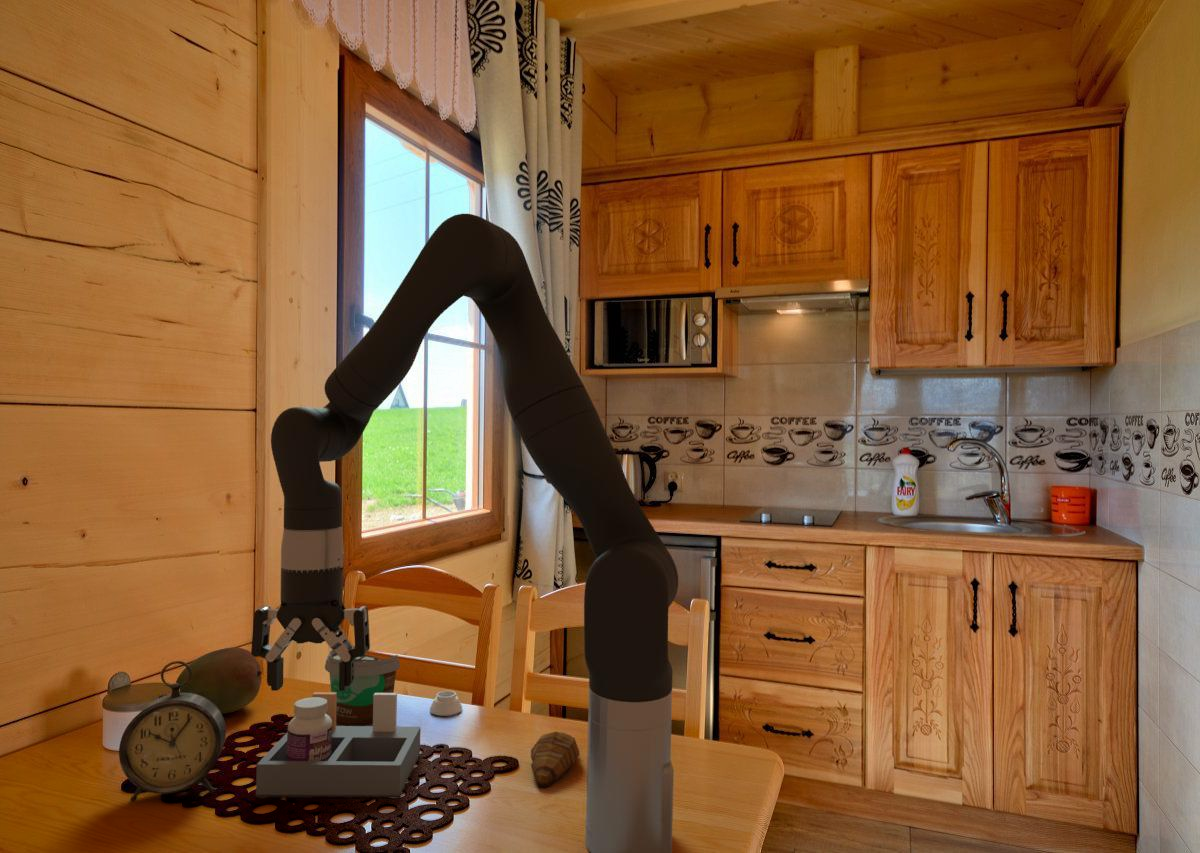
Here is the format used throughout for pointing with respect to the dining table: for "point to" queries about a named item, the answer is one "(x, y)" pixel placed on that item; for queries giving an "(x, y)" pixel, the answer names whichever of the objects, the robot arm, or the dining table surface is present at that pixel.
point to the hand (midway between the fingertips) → (310, 688)
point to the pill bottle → (309, 731)
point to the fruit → (224, 678)
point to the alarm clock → (172, 742)
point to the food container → (361, 687)
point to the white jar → (446, 704)
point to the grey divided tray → (347, 758)
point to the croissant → (553, 757)
